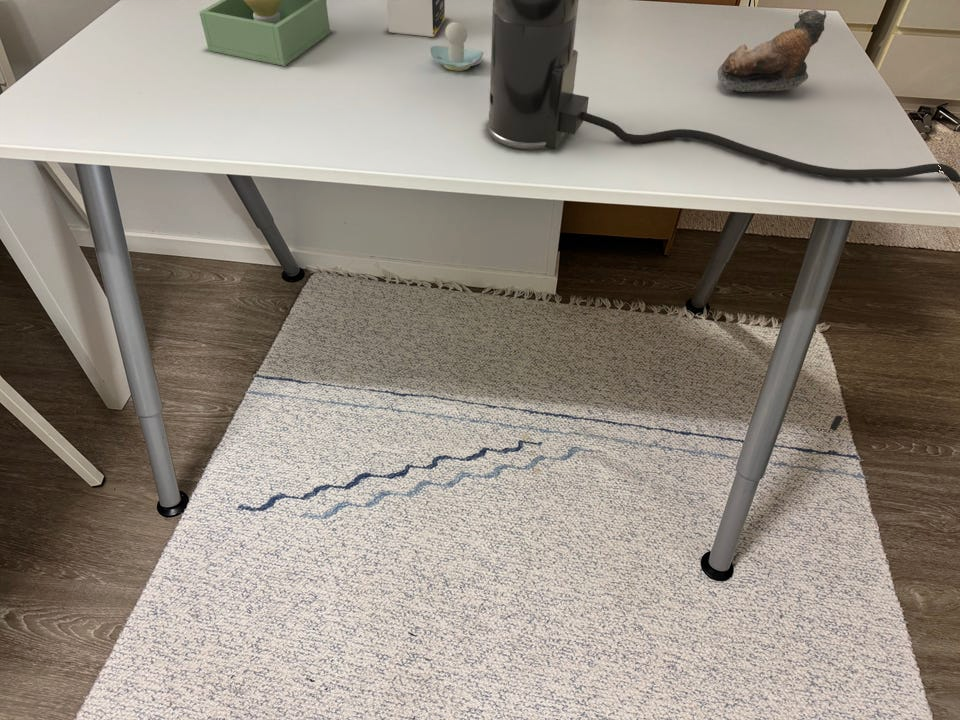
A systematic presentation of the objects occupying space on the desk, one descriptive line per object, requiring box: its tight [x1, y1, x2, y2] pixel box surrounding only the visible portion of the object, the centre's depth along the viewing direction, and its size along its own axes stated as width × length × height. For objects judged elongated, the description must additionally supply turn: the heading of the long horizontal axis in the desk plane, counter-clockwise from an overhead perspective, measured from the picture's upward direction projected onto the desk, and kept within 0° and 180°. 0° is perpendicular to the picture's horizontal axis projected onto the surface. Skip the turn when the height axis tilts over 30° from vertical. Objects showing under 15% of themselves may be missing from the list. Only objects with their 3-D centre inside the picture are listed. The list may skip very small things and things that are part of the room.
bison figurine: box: [717, 9, 827, 93], centre depth 95 cm, size 12×7×10 cm, turn 93°
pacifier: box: [429, 21, 484, 72], centre depth 100 cm, size 7×6×6 cm
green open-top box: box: [198, 0, 331, 67], centre depth 104 cm, size 13×13×5 cm
